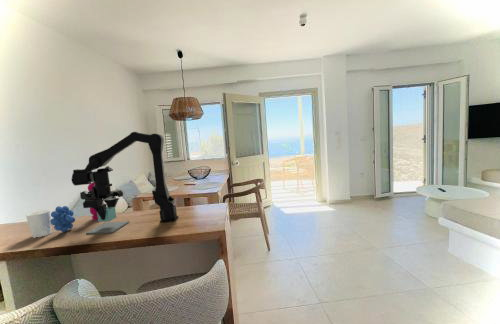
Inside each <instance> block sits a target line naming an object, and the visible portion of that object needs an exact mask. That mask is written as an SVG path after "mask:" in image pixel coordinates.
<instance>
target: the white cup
mask: <svg viewBox="0 0 500 324" xmlns="http://www.w3.org/2000/svg"><path fill="white" fill-rule="evenodd" d="M51 219H52V217H51V210H50V209H41V210H36V211H33V212H30V213H27V214H26V221H27V225H28V228H29V230H30V233H31V237H32V238H34V239H37V238H36V237H38V238H41V237H42V236H43V237H45V236H48V235H51V234H52V233H53V229H52V224H51V223H50V221H51ZM43 237H42V238H43Z"/></svg>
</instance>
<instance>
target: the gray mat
mask: <svg viewBox="0 0 500 324" xmlns="http://www.w3.org/2000/svg"><path fill="white" fill-rule="evenodd" d="M129 223H130V221H129V220H128V221H108V222H102V224H99V225H98V226H96V227H94V228H93V229H90V230H88V231H87V232H86V233H85V234H86V235H96V234H97V235H99V234H114V233H116V232H117V231H118V230H120V229H122V228H123V227H124V226H126V225H128V224H129Z"/></svg>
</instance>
